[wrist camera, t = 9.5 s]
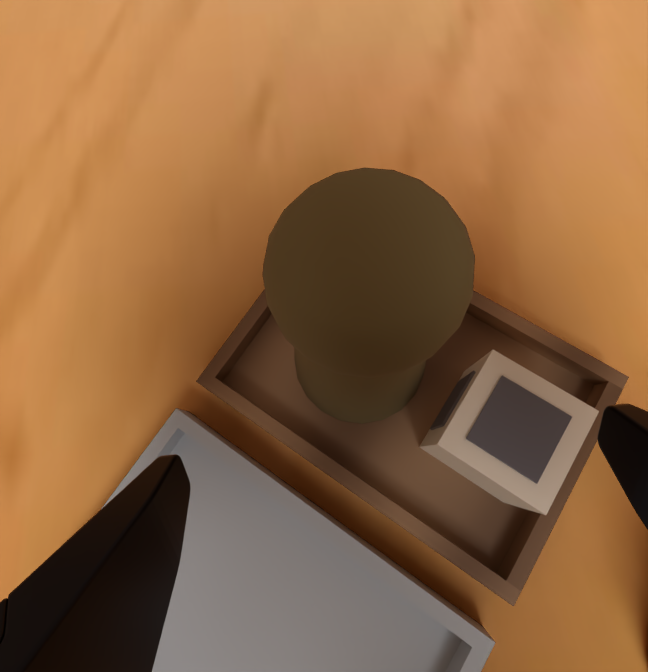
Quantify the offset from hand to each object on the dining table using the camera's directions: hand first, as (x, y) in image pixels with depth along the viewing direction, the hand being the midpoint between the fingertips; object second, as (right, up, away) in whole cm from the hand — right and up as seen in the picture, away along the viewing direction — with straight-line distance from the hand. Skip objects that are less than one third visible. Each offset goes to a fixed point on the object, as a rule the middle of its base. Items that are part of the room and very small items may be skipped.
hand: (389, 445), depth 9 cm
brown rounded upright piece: (0, +1, +11) cm, 11 cm away
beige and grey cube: (+5, -2, +9) cm, 11 cm away
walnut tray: (+2, 0, +11) cm, 11 cm away
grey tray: (-4, -9, +8) cm, 13 cm away
